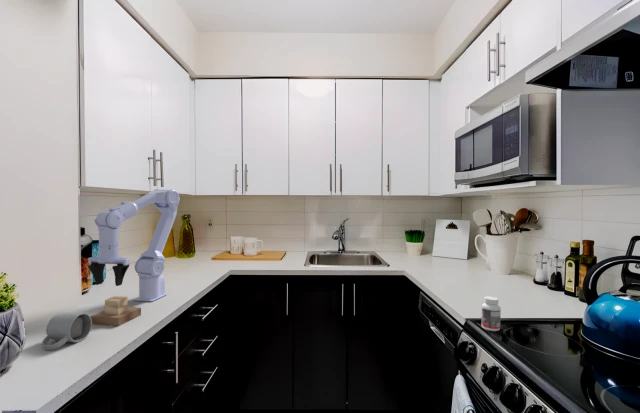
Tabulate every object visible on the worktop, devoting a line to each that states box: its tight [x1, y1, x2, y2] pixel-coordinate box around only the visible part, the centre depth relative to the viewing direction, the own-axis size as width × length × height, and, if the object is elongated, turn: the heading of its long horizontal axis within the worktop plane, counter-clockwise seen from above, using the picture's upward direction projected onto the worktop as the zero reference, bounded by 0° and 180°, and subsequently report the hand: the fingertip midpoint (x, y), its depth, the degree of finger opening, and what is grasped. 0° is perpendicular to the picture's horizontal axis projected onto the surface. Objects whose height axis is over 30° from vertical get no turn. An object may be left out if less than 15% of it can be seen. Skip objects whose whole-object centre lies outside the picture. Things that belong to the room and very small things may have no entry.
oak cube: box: [104, 295, 128, 315], centre depth 110 cm, size 4×4×4 cm
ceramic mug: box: [41, 312, 93, 351], centre depth 92 cm, size 11×8×8 cm
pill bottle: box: [480, 295, 502, 332], centre depth 107 cm, size 5×5×10 cm
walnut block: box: [90, 306, 142, 327], centre depth 110 cm, size 10×10×3 cm
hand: (109, 284), depth 117 cm, fingers open, 7 cm apart
